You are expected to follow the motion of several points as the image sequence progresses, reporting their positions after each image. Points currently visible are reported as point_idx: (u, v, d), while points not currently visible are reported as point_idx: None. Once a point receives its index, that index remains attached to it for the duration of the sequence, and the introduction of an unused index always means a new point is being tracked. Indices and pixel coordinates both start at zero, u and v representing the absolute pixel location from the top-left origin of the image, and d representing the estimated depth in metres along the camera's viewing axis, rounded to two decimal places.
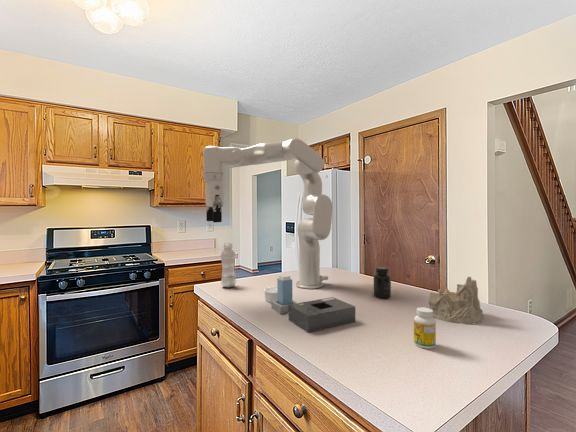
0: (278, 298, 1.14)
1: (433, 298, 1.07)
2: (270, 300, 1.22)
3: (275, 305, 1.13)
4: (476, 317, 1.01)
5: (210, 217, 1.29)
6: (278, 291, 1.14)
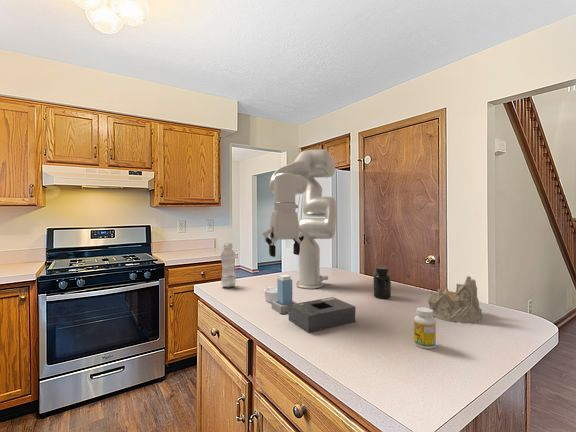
0: (278, 298, 1.14)
1: (433, 298, 1.08)
2: (270, 300, 1.22)
3: (275, 305, 1.13)
4: (475, 316, 1.01)
5: None
6: (278, 291, 1.14)
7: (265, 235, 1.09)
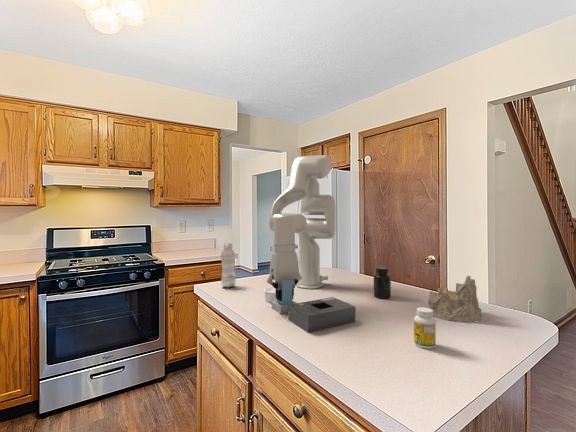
0: None
1: (433, 297, 1.08)
2: (270, 300, 1.22)
3: (275, 305, 1.13)
4: (475, 316, 1.02)
5: None
6: None
7: (270, 282, 1.10)
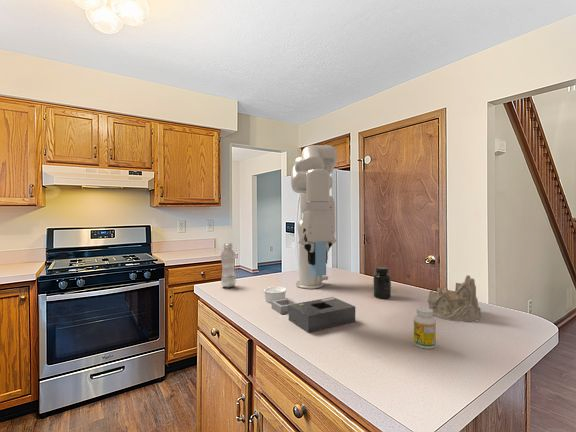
0: None
1: (433, 297, 1.09)
2: (270, 300, 1.22)
3: (275, 305, 1.13)
4: (475, 315, 1.03)
5: None
6: None
7: (302, 243, 0.99)
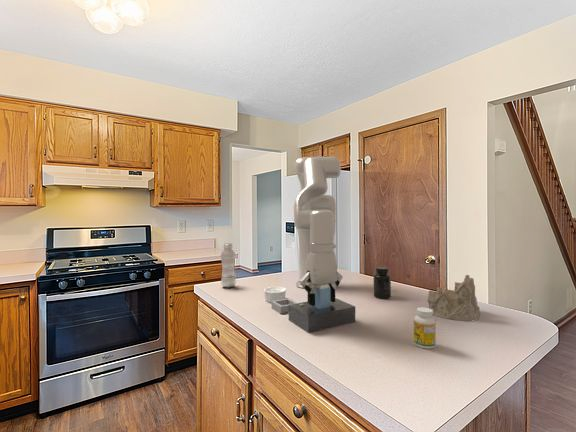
0: None
1: (433, 296, 1.09)
2: (270, 300, 1.22)
3: (275, 305, 1.13)
4: (474, 314, 1.04)
5: None
6: None
7: (303, 283, 0.98)
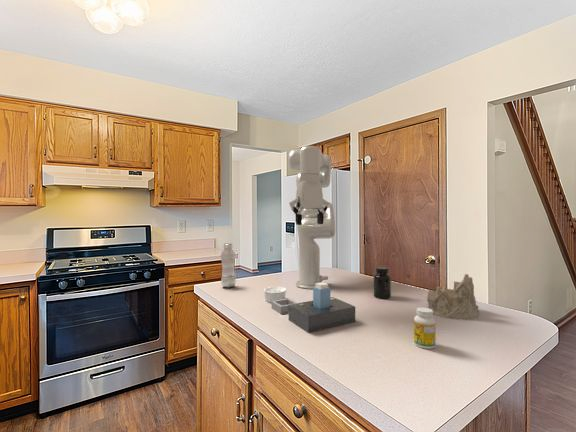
0: None
1: (432, 296, 1.10)
2: (270, 300, 1.22)
3: (275, 305, 1.13)
4: (473, 313, 1.05)
5: None
6: (314, 301, 1.03)
7: (292, 204, 1.16)
